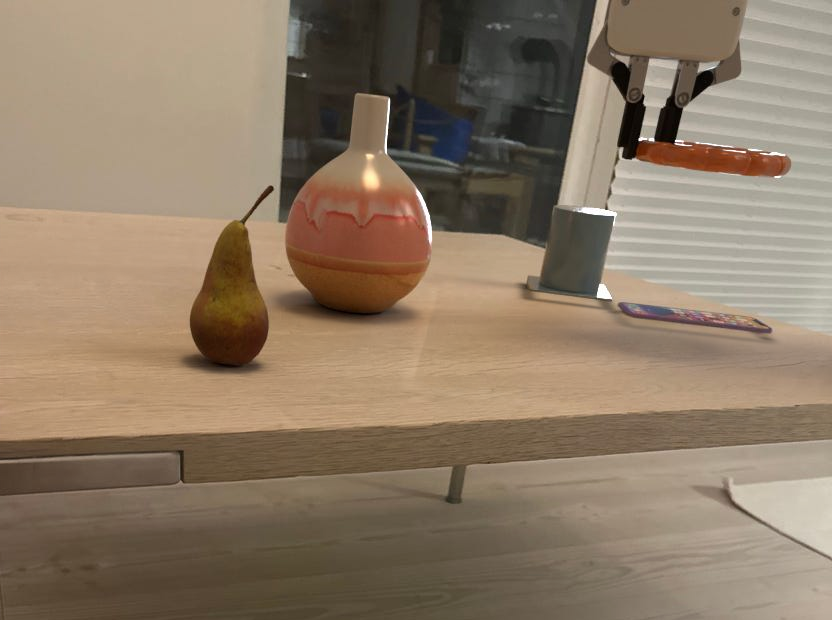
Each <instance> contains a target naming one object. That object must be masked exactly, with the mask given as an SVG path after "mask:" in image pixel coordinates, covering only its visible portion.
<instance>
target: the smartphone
mask: <svg viewBox="0 0 832 620" xmlns="http://www.w3.org/2000/svg"><path fill="white" fill-rule="evenodd" d="M617 306H618V307H619V308H620V309H621V310H622V311H623V313H624V314H625V315H626V316H628V317H630V318H634V319H641V320H649V321H658V322H667V323H674V324H683V325H693V326H700V327H710V328H719V329H724V330H725V329H727V330H735V331H744V332H753V333H762V334H772V333H773V328H772V327H770V326H769V325H767V324H765V323H764V322H762V321H760V320H759V319H757V318H755V317H752V316H748V315H747V316H746V315H741V314H740V315H738V314H731V313H723V312H714V311H713V312H712V311H706V310H705V311H704V310H695V309H688V308H687V309H686V308H678V307H670V306H661V305H660V306H659V305H651V304H644V303H634V302H626V301H625V302H624V301H619V302H618V303H617Z"/></svg>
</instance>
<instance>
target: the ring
mask: <svg viewBox="0 0 832 620" xmlns="http://www.w3.org/2000/svg"><path fill="white" fill-rule="evenodd" d="M653 140H654V138H643V137H640V138H639V143H638V147H637V150H636V156H635V159H636V160H638V161H639V162H642V163H646V164H647V163H648V164H652V165H658V166H663V167H671V168H677V169H684V170H692V171H697V172H698V171H699V172H707V173H708V172H709V173H715V174H725V175H734V176H744V177H756V178H757V177H758V178H780V177H784V176H786V175H787V174H788V173H789V172H790V170H791V169H792V160H791V158H790V157H789V156H788V155H786V154H782V153H778V152H773V151H766V150H765V151H764V150H759V149H752V148H744V147H738V146H737V147H735V146H730V145H729V146H728V145H719V144H712V143H702V142H692V141H683V140H676V141H675V144H672V143H665V142H659V141H653ZM635 159H634V160H635Z"/></svg>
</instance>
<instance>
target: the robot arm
mask: <svg viewBox="0 0 832 620" xmlns="http://www.w3.org/2000/svg"><path fill="white" fill-rule="evenodd" d="M748 1H749V0H607V5H606V11H605V15H604V21H603V26H602V27H601V30H600V31H599V34H598V35H597V37H596V39H595V40H594V43H593V45H592V46H591V48H590V49H589V52H588V53H587V57H586V62H587V64H589V65H590V66H591V67H593V68H594V69H596V70H597V71H599V72H601V73H603V74H604V75H606V76H608V77H609V78H611V80H612V82H613V84H614V85H615V86H616V89H617V90H618V92H619V93H620V95H621V96H622V99H623V101H624V102H625V103H624V108H623V113H622V118H621V122H620V128H619V132H618V137H617V142H616V147H617V148H622V153H621V158H622V159H623V160H626V161H627V160H628V161H632V160H635V156H636V150H637V147H638V143H639V139H641V133H642V130H643V129H642V128H643V124H644V119H645V114H646V110H647V106H646V105H645V103H644V101H645V97H646V96H645V93H644V89H645V83H646V79H647V73H648V70H649V69H648V67H649V65H650V60H656V61H665V62H666V61H667V62H677V66H676V70H675V74H674V79H673V82H672V86H671V90H670V94H669V96H668V97H667V98H666V99H665V105H664V106H662V107H661V108H660V110H659V114H658V118H657V123H656V127H655V132H654V136H653V139H654V140H653V141H659V142H665V143H672V144H675V141H677V137H678V132H679V129H680V124H681V121H682V120H681V119H682V116H683V111H684V108H686V107H687V106H688V105H689V104H690V103H691V102H692V101H694V100H695V99H696V98H697V97H698V96H699V95H701V94H702V93H703V92H705V90H707V89H708V88H709V87H712V86H716V85H718V84H722V83H726V82H729V81H731V80H735V79H737V78H738V77H739V76H740V75H741V73H742V56H741V44H740V37H741V33H742V29H743V25H744V20H745V16H746V11H747V6H748ZM614 55H616V56H620V57H628V58H629V59H628V64H626V63H625V62H623V61H621V60H620V59H618V58H617V57H615V56H614ZM717 62H719V63H717ZM710 63H717V65H715V66H713V67H710V68H707V69H704V70H703V69H702V70H700V71H699V68H700V64H710Z"/></svg>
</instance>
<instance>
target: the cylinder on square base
mask: <svg viewBox="0 0 832 620" xmlns="http://www.w3.org/2000/svg"><path fill="white" fill-rule="evenodd" d="M616 217H617V213H616V212H613V211H609V210H605V209H600V208H594V207H589V206H588V207H587V206H579V205H569V204H556V205H555V204H554V205H553V207H552V211H551V217H550V223H549V227H548V233H547V237H546V243H545V248H544V253H543V259H542V263H541V268H540V274H539V276H538V275H537V276H536V275H529V274H528V275H527V278H526V283H525V284H526V287H527V290H529V292H535V293H541V294H551V295H558V296H565V297H566V296H567V297H573V298H581V299H582V298H583V299H587V300H589V299H590V300H597V301H606V302H613V298H612V296H611V294H610V293H609V291H608V290H607V288H606V286H605V285H604V284H601V283H602V279H603V274H604V269H605V265H606V260H607V256H608V253H609V252H608V251H609V247H610V243H611V239H612V234H613V231H614V230H613V229H614V225H615V220H616Z"/></svg>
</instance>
